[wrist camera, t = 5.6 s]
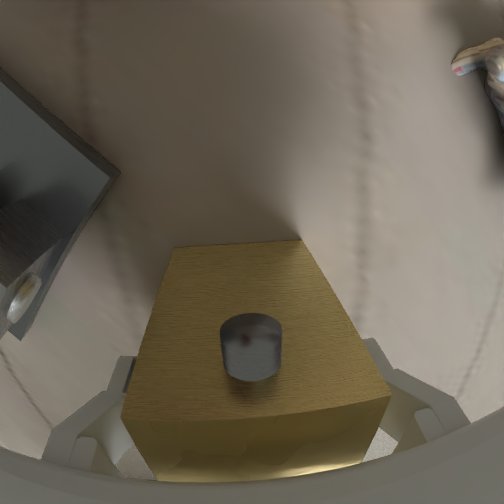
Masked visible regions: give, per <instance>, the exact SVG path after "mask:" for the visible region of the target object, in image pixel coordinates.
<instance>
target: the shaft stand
mask: <svg viewBox="0 0 504 504" xmlns="http://www.w3.org/2000/svg"><path fill="white" fill-rule="evenodd" d="M120 173H121V172H120V171H119V170H118V169H116V168H115V167H114V166H113V165H112V164H110V163H109V162H108V161H107V160H106V159H105V158H103V157H102V156H101V155H100V154H99V153H97V152H96V151H95V150H94V149H93V148H92V147H90V146H89V145H88V144H87V143H86V142H85V141H83V140H82V139H81V138H80V137H79V136H77V135H76V134H75V133H74V132H73V131H72V130H70V129H69V128H68V127H67V126H66V125H65V124H64V123H62V122H61V121H60V120H59V119H58V118H57V117H55V116H54V115H53V114H52V113H51V112H50V111H49V110H47V109H46V108H45V107H44V106H43V105H42V104H40V103H39V102H38V101H37V100H36V99H35V98H34V97H33V96H31V95H30V94H29V93H28V92H27V91H26V90H25V89H23V88H22V87H21V86H20V85H19V84H18V83H17V82H16V81H14V80H13V79H12V78H11V77H10V76H9V75H8V74H7V73H6V72H4V71H3V70H2V69H1V68H0V339H1V338H2V336H3V335H4V334H5V333H6V331H7V330H8V331H9V332H10V333H12V334H13V335H14V336H15V337H16V338H18V339H19V340H20V341H21V340H22V338H23V337H24V336H25V334H26V333H27V332H28V330H29V329H30V327H31V325H32V323H33V321H34V319H35V316H36V314H37V312H38V310H39V308H40V306H41V304H42V302H43V300H44V298H45V296H46V294H47V292H48V290H49V288H50V286H51V284H52V282H53V280H54V278H55V276H56V274H57V273H58V271H59V269H60V267H61V265H62V263H63V262H64V260H65V258H66V256H67V255H68V253H69V251H70V249H71V248H72V246H73V244H74V243H75V241H76V239H77V238H78V236H79V234H80V233H81V231H82V229H83V228H84V226H85V225H86V223H87V221H88V220H89V218H90V217H91V215H92V214H93V212H94V211H95V209H96V208H97V206H98V204H99V203H100V201H101V200H102V199H103V197H104V196H105V194H106V193H107V191H108V190H109V188H110V187H111V185H112V184H113V183H114V181H115V180H116V178H117V177H118V176H119V174H120Z"/></svg>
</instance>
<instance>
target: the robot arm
mask: <svg viewBox="0 0 504 504" xmlns="http://www.w3.org/2000/svg"><path fill="white" fill-rule="evenodd" d="M362 341H363V342H364V344H365V346H366V348H367V349H368V351H369V353H370V355H371V357H372V358H373V360H374V362H375V364H376V366H377V367H378V369H379V371H380V373H381V375H382V377H383V378H384V380H385V382H386V384H387V386H388V388H389V390H390V391H391V393H392V396H391V399H390V401H389V404H388V406H387V409H386V411H385V413H384V416H383V418H382V420H381V423H380V425H379V427H380V428H381V429H382V430H383V431H385V432H386V433H387V434H389V435H390V436H391V437H392V438H394V439H395V440H396V441H398V442H399V443H398V444H397V446H396V448H395V449H394V451H393V453H392V454H391V455H388V456H385V457H381V458H378V459H374V460H370V461H367V462H363V463H359V464H355V465H351V466H346V467H342V468H337V469H333V470H328V471H322V472H317V473H311V474H305V475H298V476H291V477H284V478H275V479H266V480H254V481H239V482H170V481H155V480H144V479H134V478H126V477H123V475H122V474H121V473H120V472H119V470H118V469H117V468H116V467H115V464H116V463H117V462H118V461H119V460H120V459H121V458H122V456H123V455H124V454H125V453H126V452H127V451H128V450H129V448H130V447H131V446H132V445H133V444H134V442H133V440H132V438H131V437H130V435H129V433H128V431H127V429H126V428H125V426H124V424H123V422H122V420H121V418H120V416H121V412H122V408H123V404H124V401H125V397H126V393H127V390H128V386H129V383H130V379H131V376H132V373H133V369H134V366H135V362H136V359H137V356H135V357H134V356H120V357H119V358H118V360H117V363H116V366H115V369H114V371H113V374H112V377H111V380H110V382H109V385H108V388H107V391H102V392H101V393H99V394H98V395H97V396H95V397H94V398H93V399H91V400H90V401H89V402H88V403H86V404H85V405H84V406H82V407H81V408H80V409H78V410H77V411H76V412H75V413H73V414H72V415H71V416H69V417H68V418H67V419H65V420H64V421H63V422H61V423H60V424H59V425H58V426H56V427H55V428H54V429H52V432H51V434H50V437H49V439H48V442H47V445H46V447H45V450H44V453H43V455H42V458H41V460H39V459H36V458H33V457H29V456H26V455H23V454H20V453H17V452H14V451H11V450H9V449H6V448H3V447H0V504H504V407H502V408H500V409H498V410H497V411H495V412H493V413H491V414H489V415H487V416H485V417H483V418H481V419H479V420H477V421H475V422H473V423H470V421H469V420H468V418H467V417H466V415H465V414H464V412H463V411H462V409H461V407H460V406H459V404H458V403H457V401H456V400H455V398H454V397H452V396H450V395H448V394H446V393H444V392H442V391H440V390H438V389H436V388H434V387H432V386H430V385H428V384H426V383H424V382H422V381H421V380H419V379H417V378H415V377H413V376H411V375H409V374H407V373H405V372H403V371H401V370H399V369H393V367H392V366H391V364H390V363H389V361H388V359H387V358H386V356H385V354H384V353H383V351H382V350H381V348H380V346H379V345H378V343H377V342H376V340H375V339H374V338H369V339H363V340H362Z"/></svg>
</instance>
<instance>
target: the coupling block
mask: <svg viewBox="0 0 504 504" xmlns="http://www.w3.org/2000/svg"><path fill="white" fill-rule="evenodd" d="M391 396H392V393H391V391H390V390H389V388H388V386H387V384H386V382H385V380H384V378H383V377H382V375H381V373H380V371H379V369H378V367H377V366H376V364H375V362H374V360H373V358H372V357H371V355H370V353H369V351H368V349H367V348H366V346H365V344H364V342H363V341H362V339H361V337H360V335H359V334H358V332H357V330H356V328H355V327H354V325H353V323H352V321H351V320H350V318H349V316H348V315H347V313H346V311H345V309H344V308H343V306H342V304H341V303H340V301H339V299H338V298H337V296H336V294H335V293H334V291H333V289H332V288H331V286H330V284H329V283H328V281H327V279H326V278H325V276H324V274H323V273H322V271H321V269H320V268H319V266H318V264H317V263H316V261H315V260H314V258H313V256H312V255H311V253H310V252H309V250H308V248H307V247H306V245H305V244H304V242H303V240H293V241H275V242H258V243H242V244H225V245H209V246H194V247H178V248H174V251H173V253H172V256H171V259H170V261H169V264H168V267H167V270H166V272H165V275H164V278H163V281H162V283H161V286H160V289H159V292H158V295H157V298H156V301H155V303H154V306H153V309H152V312H151V315H150V318H149V321H148V324H147V327H146V330H145V334H144V337H143V340H142V343H141V346H140V349H139V353H138V356H137V359H136V362H135V366H134V369H133V373H132V376H131V379H130V383H129V386H128V390H127V393H126V397H125V401H124V404H123V408H122V412H121V416H120V418H121V420H122V422H123V424H124V426H125V428H126V429H127V431H128V433H129V435H130V437H131V438H132V440H133V442H134V443H135V445H136V447H137V448H138V450H139V452H140V453H141V455H142V457H143V458H144V460H145V462H146V463H147V465H148V466H149V468H150V469H151V471H152V472H153V474H154V475H155V477H156V478H157V480H158V481H170V482H239V481H254V480H266V479H275V478H284V477H291V476H298V475H305V474H311V473H317V472H322V471H328V470H333V469H337V468H342V467H346V466H351V465H355V464H359V463H361V462H362V460H363V458H364V456H365V454H366V452H367V450H368V448H369V446H370V444H371V442H372V440H373V438H374V436H375V434H376V431H377V429H378V427H379V425H380V423H381V420H382V418H383V416H384V413H385V411H386V409H387V406H388V404H389V401H390V399H391Z"/></svg>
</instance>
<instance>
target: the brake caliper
mask: <svg viewBox="0 0 504 504" xmlns="http://www.w3.org/2000/svg"><path fill="white" fill-rule="evenodd" d="M451 68H452V70H453V71H454V72H455V74H457V75H458V76H461V75H464V74H467V73H469V72H472V71H475V70H476V69H477V68H480V69H483V70H485V71H487V72H488V75H487V78H486V82H485V91H486V93H487V95H488V96H489V97H490V98H491V100H492V102H493V104H494V106H495V109H496V111H497V114H498V116H499V120H500V123H501V126H502V129H503V134H504V39H502V38H499V37H498V38H492V39H490V40H489V41H487V42H485V43H484V44H483V45H479V46H477V47H470V48H467V49H466V50H464V51H462V52H460V53H458V55H457V57H456V59H455V60H453V61H452V64H451Z"/></svg>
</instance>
